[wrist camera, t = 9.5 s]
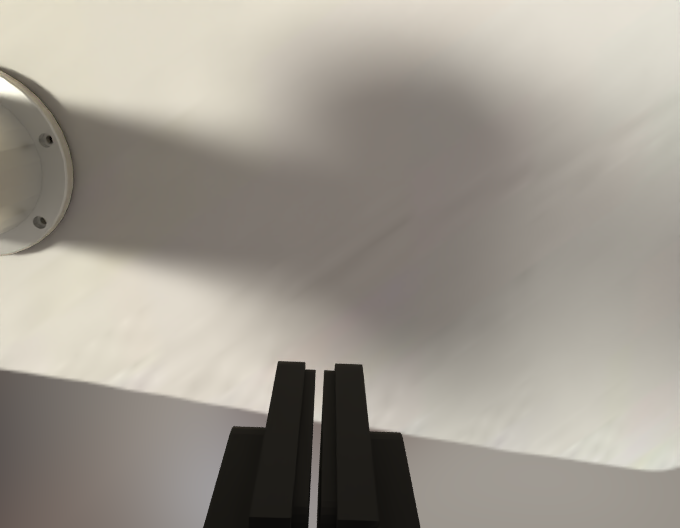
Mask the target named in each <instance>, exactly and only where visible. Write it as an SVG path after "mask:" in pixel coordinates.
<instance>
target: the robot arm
mask: <svg viewBox="0 0 680 528" xmlns="http://www.w3.org/2000/svg"><path fill="white" fill-rule="evenodd" d="M50 136H51V138H52V140H53V143H52V142H51V141H50V139H49V137H50ZM72 189H73V165H72V160H71V155H70V150H69V147H68V145H67V142H66V140H65V137H64V135H63V132H62V130H61V128H60V127H59V125H58V123H57V122H56V120H55V118H54V117H53V115H52V113H51V112H50V111H49V110H48V109H47V107H46V106H45V105H44V104H43V103H42V101H41V100H40V99H39V98H38V97H37V96H36V95H35V94H34V93H32V92H31V91H30V90H29V89H28V88H27V87H26V86H24V85H23V84H22V83H21V82H19V81H17V80H16V79H14V78H12V77H11V76H9V75H8V74H6V73H4V72H2V71H0V256H4V255H9V254H14V253H17V252H19V251H22V250H24V249H27V248H29V247H31V246H33V245H34V244H36V243H38V242H40V241H41V240H43V239H44V238H45V237H46V236H47V235H49V234H50V233H51V232H52V231H53V230H54V229H55V228H56V226H57V225H58V224H59V222H60V221H61V220H62V218H63V217H64V215H65V212H66V210H67V208H68V205H69V203H70V199H71V194H72ZM44 219H45V220H46V222H45V221H44ZM315 373H316V370H305V362H286V361H278V365H277V370H276V375H275V381H274V386H273V391H272V397H271V402H270V407H269V413H268V418H267V423H266V428H263V427H237V426H236V427H235V426H234V427H233V428H232V430H231V433H230V435H229V439H228V442H227V446H226V449H225V453H224V456H223V460H222V464H221V467H220V471H219V474H218V478H217V481H216V485H215V488H214V492H213V495H212V499H211V502H210V506H209V509H208V513H207V516H206V520H205V523H204V527H203V528H308V521H309V503H310V482H311V460H312V439H313V417H314V395H315ZM319 463H320V464H319V483H318V509H317V528H420V523H419V518H418V513H417V508H416V503H415V498H414V493H413V487H412V482H411V477H410V473H409V467H408V463H407V457H406V452H405V447H404V442H403V437H402V434H401V433H397V432H370V431H369V423H368V413H367V404H366V394H365V385H364V375H363V366H362V365H358V364H335V371H328V370H324V385H323V405H322V424H321V443H320V462H319Z"/></svg>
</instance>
